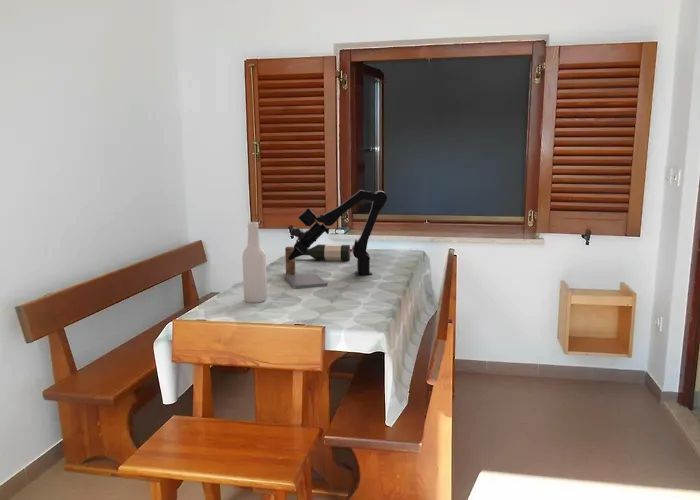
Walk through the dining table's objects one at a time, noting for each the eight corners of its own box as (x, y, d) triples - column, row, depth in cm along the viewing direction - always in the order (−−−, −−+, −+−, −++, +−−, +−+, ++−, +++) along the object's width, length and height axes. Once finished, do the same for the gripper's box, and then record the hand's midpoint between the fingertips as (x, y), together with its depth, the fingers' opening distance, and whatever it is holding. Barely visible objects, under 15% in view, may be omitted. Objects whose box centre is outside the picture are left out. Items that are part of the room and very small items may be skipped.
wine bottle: (350, 241, 294) (292, 240, 297) (348, 250, 287) (289, 249, 290) (350, 255, 299) (294, 254, 302) (349, 264, 292) (291, 262, 295)
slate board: (327, 285, 240) (327, 283, 240) (294, 288, 236) (294, 285, 236) (315, 275, 259) (315, 273, 258) (285, 278, 255) (285, 275, 254)
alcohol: (245, 304, 213) (242, 224, 207) (243, 298, 221) (240, 221, 216) (268, 302, 215) (266, 223, 210) (265, 296, 224) (263, 220, 218)
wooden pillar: (295, 273, 264) (294, 246, 262) (294, 275, 260) (294, 248, 258) (286, 273, 264) (286, 246, 262) (285, 275, 260) (285, 248, 258)
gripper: (302, 218, 267) (279, 241, 269) (299, 224, 249) (274, 248, 251) (319, 235, 269) (296, 258, 270) (317, 241, 250) (292, 266, 252)
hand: (289, 257), depth 261 cm, fingers open, 9 cm apart
